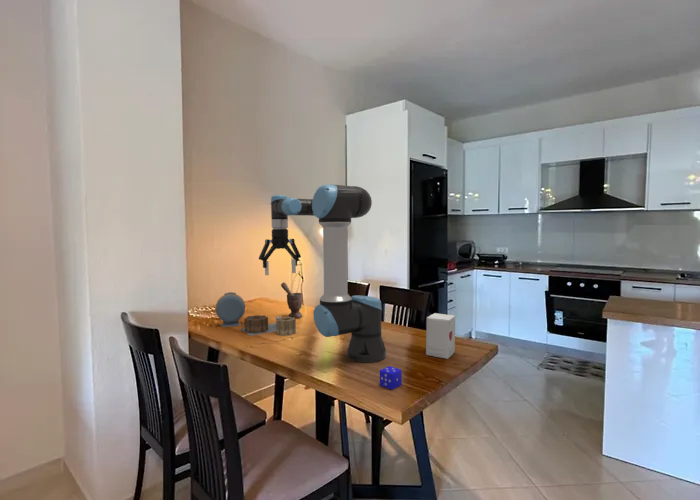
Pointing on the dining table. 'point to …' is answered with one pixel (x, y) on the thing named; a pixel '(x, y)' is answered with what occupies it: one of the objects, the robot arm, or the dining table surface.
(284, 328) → the maple gear
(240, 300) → the alarm clock
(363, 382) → the dining table surface
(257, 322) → the walnut gear
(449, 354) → the supplement box
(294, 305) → the mortar and pestle
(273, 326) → the gear board
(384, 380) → the die
